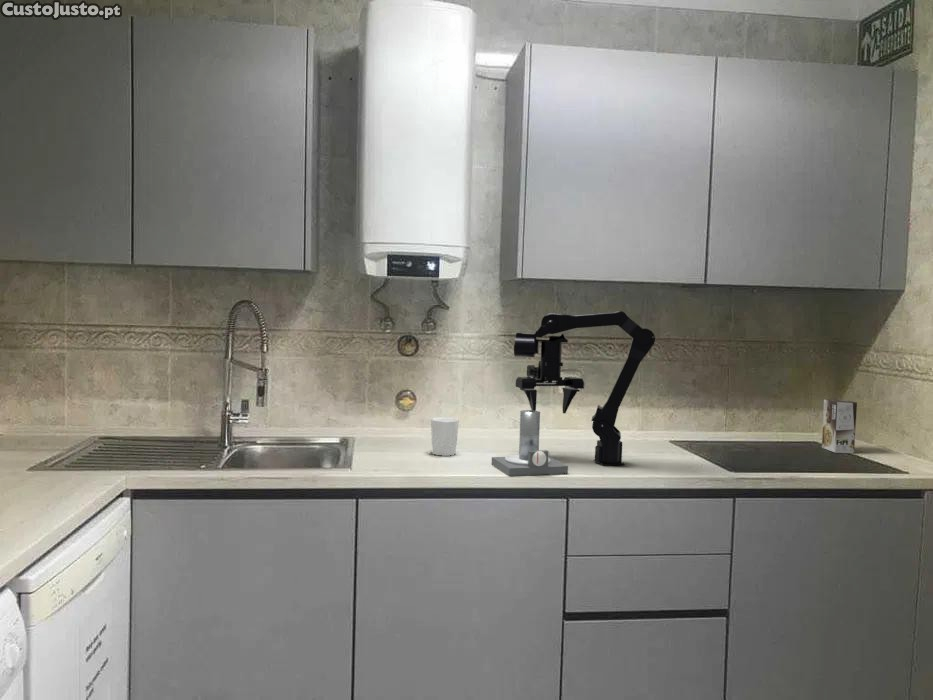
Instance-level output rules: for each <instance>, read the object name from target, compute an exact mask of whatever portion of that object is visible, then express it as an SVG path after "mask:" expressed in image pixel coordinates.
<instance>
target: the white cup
mask: <svg viewBox="0 0 933 700" xmlns="http://www.w3.org/2000/svg"><path fill="white" fill-rule="evenodd" d="M430 419H431V420H430V422H431V423H430V427H431V432H430V433H431V445H432V446H431V447H432V448H431V449H432V453H431V454H432V455H434V454H436V455H435V456H438V455H442V456H441V457H451V456H450V455H452V456H455V455H456V454H457V445H458V434H459V422H460V421H459V418H457V417H456V418H455V417H444V416H443V417H442V416H440V417H439V416H438V417H432V418H430ZM454 454H455V455H454Z"/></svg>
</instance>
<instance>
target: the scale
mask: <svg viewBox="0 0 933 700" xmlns="http://www.w3.org/2000/svg"><path fill="white" fill-rule="evenodd" d="M491 465H492V466H493V465H494V466H493V467H494V468H496V467H497V468H496V469H498V470H499V469H500V471H501V472H502V471H503V472H502V473H504V474H505V473H506V474H505V475H506V476H508V477H523V476H525V477H526V476H527V475H528V476H543V475H542V474H552V475H567V474H566V473H568V474H569V466H568V465H567V464H564V463H562V462H560V460H559V461H558V460H557V459H555V458H553V457H551V456H549V451H548V450H544V449H543V450H539V451H528V460H521V459H519V453H518V454H517V453H516V454H508V455H506V456H492V457H491ZM564 473H565V474H564Z"/></svg>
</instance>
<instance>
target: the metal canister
mask: <svg viewBox="0 0 933 700" xmlns="http://www.w3.org/2000/svg"><path fill="white" fill-rule="evenodd" d="M519 414H520V415H519V439H518V440H519V441H518V443H519V444H518V446H519V447H518V454H519V459H521V460H528V451H540V450H539V449H540V430H541V429H540V427H541V423H540V422H541V411H539V410H536V411H534V410H531V409H525V410H520V412H519Z"/></svg>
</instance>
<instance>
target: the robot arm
mask: <svg viewBox="0 0 933 700" xmlns="http://www.w3.org/2000/svg"><path fill="white" fill-rule="evenodd" d="M540 321H541V322H540V327H539V328H538V329H537V330H535V333H523V332H516V334H515V340H514V344H513V357H517V358H536V355H539V354H540V360H538V365H537V366H536V365H534V364H528V365H527V366H526V376H518V377H517V378H516V379H515V388H519V389H520V391H523V392H524V393H525V395H526V397H527V400H528V403H529V406H530V410H534V411H537V398H538V397H537V396H538V394H537V392H538V390H537V389H535V388H536V387H562V393H563V395H562V396H563V398H562V414H566V413H567V412H568V409H569V407H570V405H571V403H572V401H573V399H574V398H575V396H576V394H577V393H580V392H581V389H583V390H584V389H585V381H584V379H583V378H581V377H577V376H565V377H564V378H563V377H562V376H561V373H562V372H561V371H562V367H564V362H562V347H563V345H562V344H563V343H569V341H570V339H568V338H567V337H566V336H565V334H564V333H563V332H566V331H567V332H568V331H570V330H574V329H581V328H582V329H583V328H596V327H597V328H598V327H609V326H611V327H612V326H618V327H619V328H620V329H622V330H623V331H624V332H625V333H626V334H627V335H629V336H630V337H631V338H632V339H631V342H630V346H629V350H628V354H627V358H626V359H625V362H624V364H623V366H622V368H621V370H620V373H619V375H618V376H617V379H616V381H615V383H614V384H613V387H612V389H611V392H610V393H609V396H608V398H607V399H606V402H605V403H604V404H603V406H601V405H600V404H598V405H597V407H596V412H595V413H594V415H593V416H591V422H592V426H591V427H592V428H591V429H592V432H593V433H594V434H595V435H596V436H597V437H598V438H599V439H598V440H596V446H595V447H594V449H595V450H594V458H593V461H594V462H595V463H597V464H599V465H601V466H606V467H607V466H625V462H623V460H622V459H623V441H621V439H622V435H621V433H622V432H621V431H620V430H619V429H618V428H617V427H616V426H615V425H616V422H617V421H616V420H617V416H618V412H619V408H620V406H621V404H622V401H624V398H625V396H626V393H627V392H628V389H629V387H630V384H631V383H632V381H633V378H634V377H635V374H636V372H637V370H638V368H639V366H640V364H641V362H642V361H643V359H645V357H646V356H647V355H648V353H649V352H650V350H651V349H652V348H653V346H654V345H655V342H656V337H655V334H654V332H653V331H652V330H650V329H649V328H646V327H641V326H640V325H639V324H638V323H636V322H635V321H634V320H632V319H631V318H630V317H629V316H628V315H627V313H625V311H622V310H618V311H615V312H614V311H613V312H602V313H589V314H577V315H575V314H563V313H555V312H554V313H553V312H551V313H550V312H549V313H547V314H546V315H544V316H543V317H542V319H541V320H540ZM558 333H561V335H554V334H558ZM547 335H549V338H548V339H541V338H543V337H546V336H547ZM539 338H540V339H539Z"/></svg>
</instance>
